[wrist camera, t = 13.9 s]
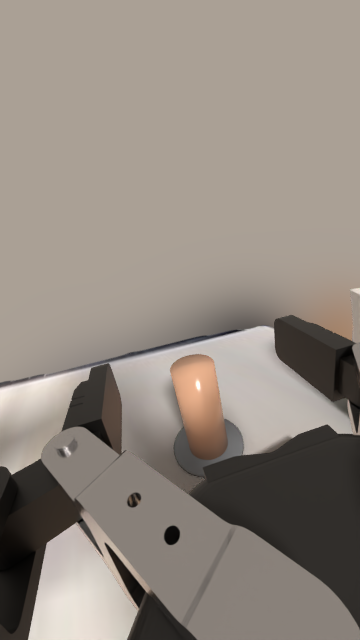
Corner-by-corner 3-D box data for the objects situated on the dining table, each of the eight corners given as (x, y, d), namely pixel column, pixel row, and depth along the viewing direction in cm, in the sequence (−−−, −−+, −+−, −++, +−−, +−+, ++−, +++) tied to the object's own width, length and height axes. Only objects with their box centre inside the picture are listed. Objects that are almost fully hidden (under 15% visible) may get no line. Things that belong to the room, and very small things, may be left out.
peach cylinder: (184, 456, 34) (163, 378, 30) (194, 425, 39) (178, 354, 34) (224, 462, 32) (209, 379, 28) (230, 429, 37) (217, 354, 32)
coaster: (164, 470, 33) (164, 468, 33) (185, 416, 42) (185, 414, 42) (240, 483, 30) (239, 481, 30) (246, 420, 38) (245, 419, 38)
